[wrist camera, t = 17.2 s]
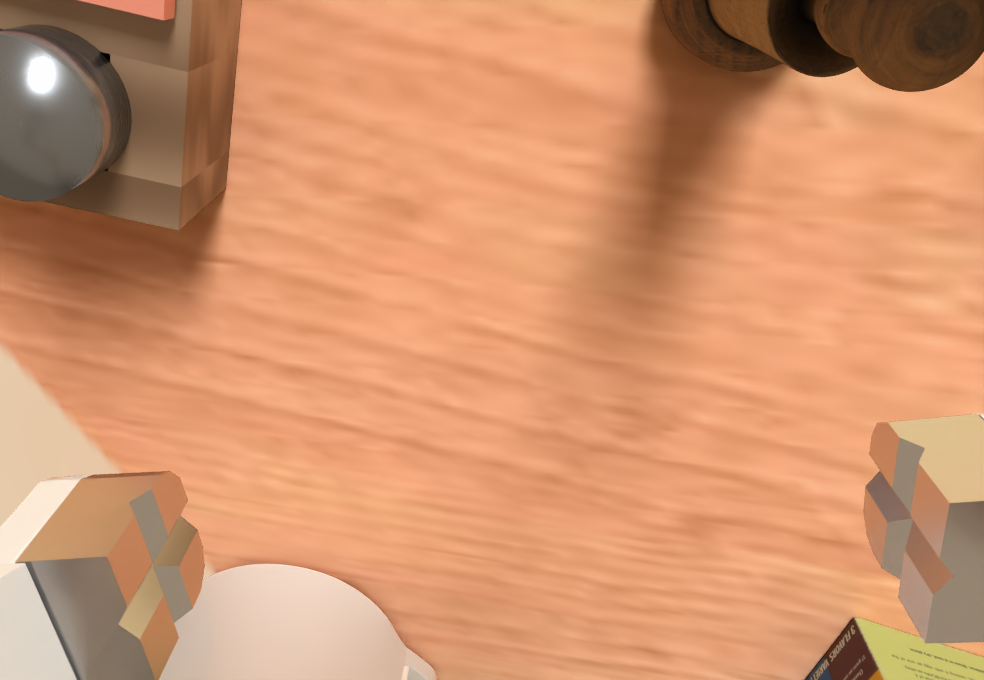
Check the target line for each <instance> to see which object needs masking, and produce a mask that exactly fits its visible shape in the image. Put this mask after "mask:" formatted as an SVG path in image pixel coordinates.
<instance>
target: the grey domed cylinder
mask: <svg viewBox="0 0 984 680" xmlns="http://www.w3.org/2000/svg"><path fill="white" fill-rule="evenodd" d="M131 125H132V113H131V106H130V101H129V97H128V94H127V91H126V89H125V86H124V84H123V82H122V80H121V78H120V76H119V74H118V73H117V71H116V70H115V68H114V67H113V65H112V64H111V63H110V54H108V53H103V52H100V51H99V50H98V49H97V48H96V47H95V46H93V45H92V44H91V43H89V42H88V41H87V40H85V39H83V38H82V37H80V36H78V35H77V34H75V33H72V32H70V31H68V30H65V29H62V28H59V27H55V26H50V25H40V24H34V25H25V26H19V27H14V28H9V29H4V30H0V195H1V196H4V197H8V198H11V199H16V200H21V201H44V200H49V199H53V198H56V197H58V196H61V195H63V194H65V193H67V192H68V191H70V190H72V189H73V188H75V187H77V186H79V185H80V184H82V183H84V182H85V181H87V180H89V179H91V178H92V177H94V176H96V175H97V174H99V173H101V172H103V171H104V170H106V169H108V168H109V167H110V166H111V165H113V164H114V163H115V162H116V161H117V160H118V158H119V157H120V156H121V154H122V153H123V151H124V150H125V148H126V145H127V143H128V140H129V137H130V133H131Z"/></svg>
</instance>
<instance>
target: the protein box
mask: <svg viewBox="0 0 984 680" xmlns="http://www.w3.org/2000/svg"><path fill="white" fill-rule="evenodd" d="M806 680H984V657H980V656H977V655H974V654H971V653H968V652H965V651H961V650H958V649H955V648H952V647H949V646H946V645H943V644H940V643H925V642H924V641H923V639H922V638H921V637H918V636H915V635H911V634H908V633H905V632H902V631H899V630H896V629H893V628H889V627H886V626H883V625H880V624H877V623H874V622H871V621H868V620H865V619H861V618H858V617H854V618H853V619H852V621H851V622H850V623H849V625H848V626H847V628H846V629H845V630H844V632H843V633H842V634H841V635H840V637H839V638H838V639H837V641H836V642H835V643H834V644H833V646H832V647H831V648H830V649H829V651H828V652H827V653H826V655H825V656H824V657H823V658H822V660H821V661H820V662H819V663H818V665H817V666H816V667H815V669H814V670H813V671H812V672H811V674H810V675H809V676H808V678H807V679H806Z"/></svg>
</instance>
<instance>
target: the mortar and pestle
mask: <svg viewBox="0 0 984 680" xmlns="http://www.w3.org/2000/svg"><path fill="white" fill-rule="evenodd" d="M661 1H662V7H663V11H664V15H665V18H666V21H667V23H668V25H669V27H670V29H671V31H672V32H673V34H674V35H675V37H676V38H677V39H678V41H679V42H680V43H681V44H682V45H683V46H684V47H685V48H687V49H688V50H689V51H690V52H692V53H693V54H695V55H697V56H698V57H700V58H701V59H703V60H704V61H706V62H708V63H710V64H712V65H714V66H717V67H720V68H723V69H727V70H731V71H739V72H751V71H760V70H764V69H768V68H771V67H774V66H777V65H779V64H782V63H784V64H785V65H787V66H789V67H790V68H792V69H794V70H796V71H798V72H800V73H803V74H805V75H809V76H814V77H829V76H835V75H839V74H842V73H845V72H848V71H850V70H852V69H854V68H856V67H859V69H860V70H861V71H862V72H863V73H864V74H865V75H866V76H867V77H868V78H870V79H871V80H872V81H874V82H876V83H877V84H879V85H881V86H884V87H886V88H889V89H893V90H897V91H905V92H916V91H925V90H930V89H933V88H937V87H939V86H942V85H944V84H946V83H949V82H951V81H952V80H954V79H956V78H957V77H959V76H960V75H962V74H963V73H964V72H965V71H967V70H968V69H969V68H970V67H971V66H972V65H973V64H974V63H975V62H976V61H977V60H978V58H979V57H980V56H981V54H982V53H983V52H984V0H661Z"/></svg>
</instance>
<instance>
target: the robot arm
mask: <svg viewBox="0 0 984 680" xmlns="http://www.w3.org/2000/svg"><path fill="white" fill-rule="evenodd" d="M869 454H870V456H871V457H872V459H873V460H874V462H875V464H876V465H877V467H878V468H879V470H880V471H879V472H878V474H877V475H876V476H875V477H874V478H873V479H872V480H871V481H870V482H869V483H868V484H867V485H866V487H865V498H864V519H865V526H866V533H867V537H868V540H869V543H870V546H871V549H872V551H873V553H874V555H875V557H876V559H877V561H878V563H879V564H880V566H881V568H882V569H884V570H886V571H887V572H889V573H891V574H892V575H894V576H896V577H897V578H899V579H901V581H900V588H899V595H898V598H899V599H900V601H901V603H902V605H903V606H904V608H905V610H906V611H907V613H908V615H909V617H910V618H911V620H912V622H913V623H914V625H915V627H916V629H917V630H918V632H919V634H920V635H921V637H922V639H923V641H924V642H925V643H961V642H984V412H983V413H973V414H969V415H958V416H947V417H936V418H925V419H914V420H903V421H892V422H881V423H877V424H876V427H875V429H874V431H873V434H872V438H871V445H870V453H869ZM187 501H188V499H187V496H186V493H185V491H184V488H183V485H182V483H181V480H180V477H178V476H177V475H175V474H174V473H172V472H171V471H161V472H141V473H120V474H100V475H91V476H87V475H79V476H67V477H55V478H50V479H47V480H43V481H41V482H39V484H38V485H37V486H36V487H35V488H34V489H33V490H32V492H31V493H30V494H29V495H28V496H27V497H26V498H25V500H24V501H23V502H22V503H21V504H20V505H19V506H18V508H17V509H16V510H15V511H14V512H13V513H12V515H11V516H10V517H9V518H8V519H7V520H6V521H5V522H4V524H3V525H2V526H1V527H0V680H437V675H436V672H435V671H434V669H433V668H432V667H431V666H430V665H429V664H428V663H427V662H425V661H424V660H423V659H422V658H420V657H419V656H418V655H416V654H415V653H414V652H412V651H411V650H409V649H408V648H407V647H406V646H405V645H404V644H403V642H402V641H401V639H400V638H399V636H398V635H397V633H396V631H395V629H394V628H393V626H392V624H391V623H390V621H389V620H388V618H387V617H386V616H385V614H384V613H383V612H382V611H381V610H380V609H379V608H378V607H377V606H376V605H375V604H374V603H373V602H372V601H371V600H370V599H369V598H367V597H366V596H365V595H364V594H362V593H361V592H359V591H358V590H357V589H355V588H353V587H352V586H350V585H348V584H346V583H344V582H343V581H341V580H338V579H336V578H334V577H332V576H329V575H327V574H324V573H321V572H318V571H315V570H311V569H307V568H303V567H298V566H291V565H283V564H252V565H244V566H239V567H234V568H230V569H227V570H224V571H221V572H218V573H216V574H213V575H211V576H209V577H207V578H205V579H203V574H204V567H205V564H204V554H203V546H202V543H201V539H200V536H199V533H198V530H197V529H196V528H194V527H193V526H192V525H191V524H190V523H188V522H187V521H186V520H185V519H184V518H182V517H181V516H180V515H181V513H182V511H183V509H184V507H185V505H186V503H187Z"/></svg>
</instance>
